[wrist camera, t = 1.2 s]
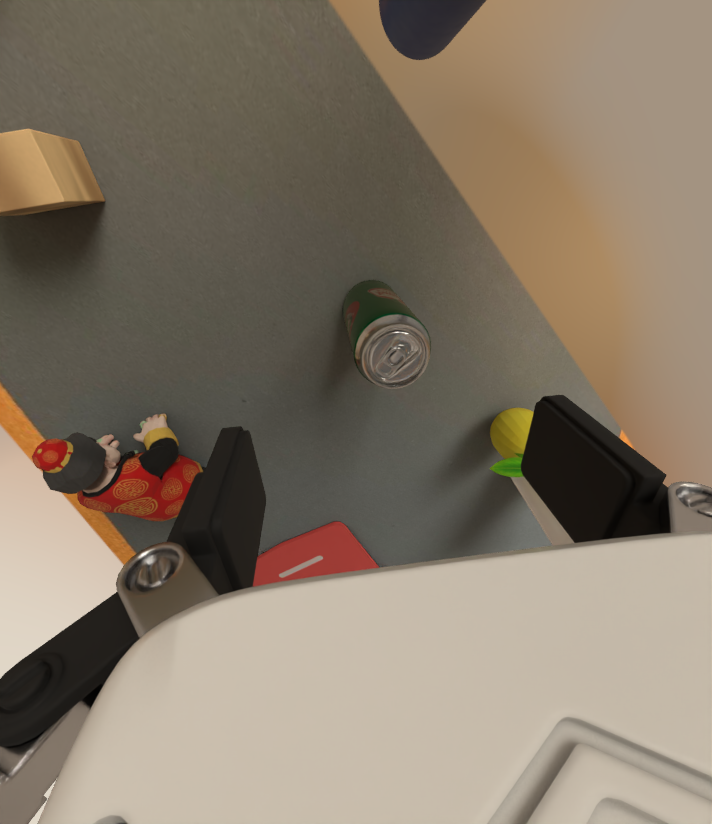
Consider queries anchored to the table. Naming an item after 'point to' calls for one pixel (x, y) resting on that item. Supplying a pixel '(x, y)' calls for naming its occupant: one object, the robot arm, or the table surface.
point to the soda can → (385, 336)
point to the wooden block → (43, 174)
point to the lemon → (510, 440)
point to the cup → (542, 513)
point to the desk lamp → (313, 556)
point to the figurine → (121, 472)
